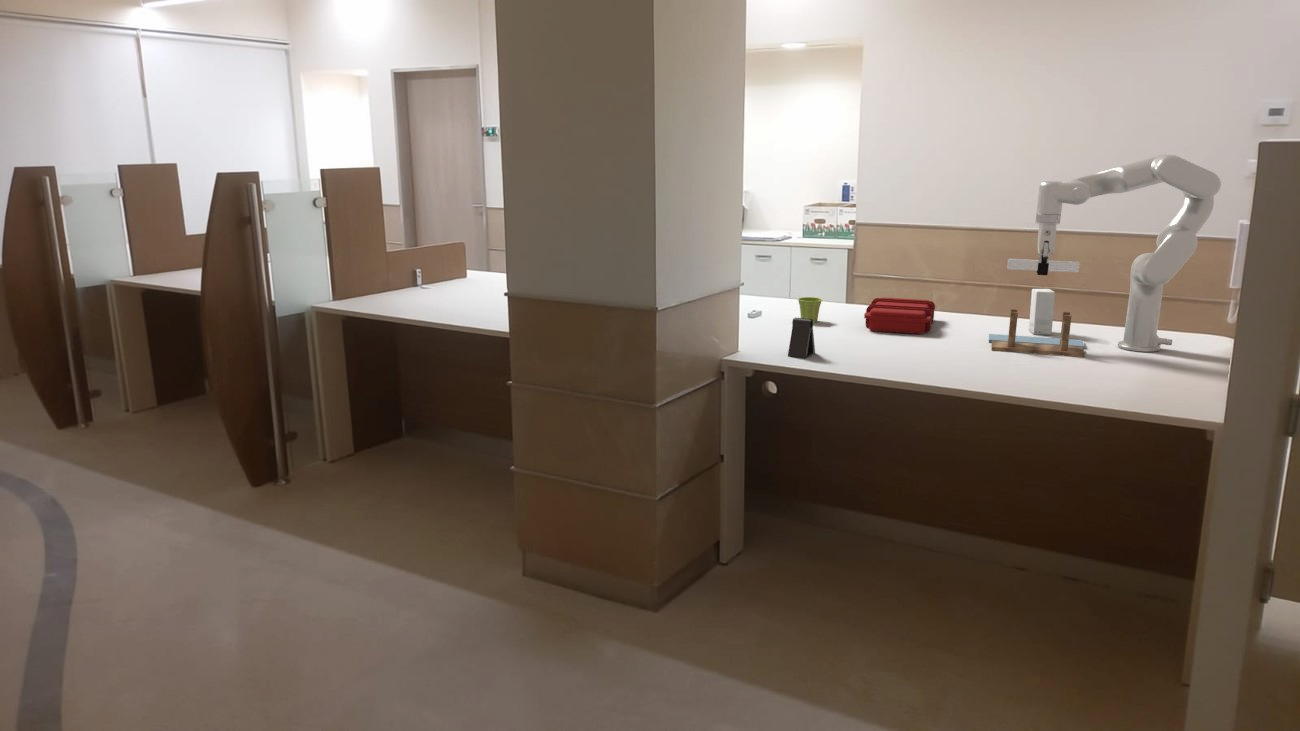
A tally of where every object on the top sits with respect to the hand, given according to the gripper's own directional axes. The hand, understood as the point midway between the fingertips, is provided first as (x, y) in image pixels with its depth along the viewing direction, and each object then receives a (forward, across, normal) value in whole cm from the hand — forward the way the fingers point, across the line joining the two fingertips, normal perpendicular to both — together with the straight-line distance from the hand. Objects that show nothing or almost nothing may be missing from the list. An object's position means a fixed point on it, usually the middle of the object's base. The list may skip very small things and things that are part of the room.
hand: (1042, 273), depth 302 cm
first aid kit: (+25, +15, +46) cm, 55 cm away
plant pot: (+24, +11, +80) cm, 84 cm away
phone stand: (+24, -44, +72) cm, 88 cm away
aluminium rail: (-1, 0, 0) cm, 1 cm away
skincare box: (+24, +18, -2) cm, 30 cm away
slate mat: (+24, 0, 0) cm, 24 cm away
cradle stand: (+24, -12, 0) cm, 27 cm away
